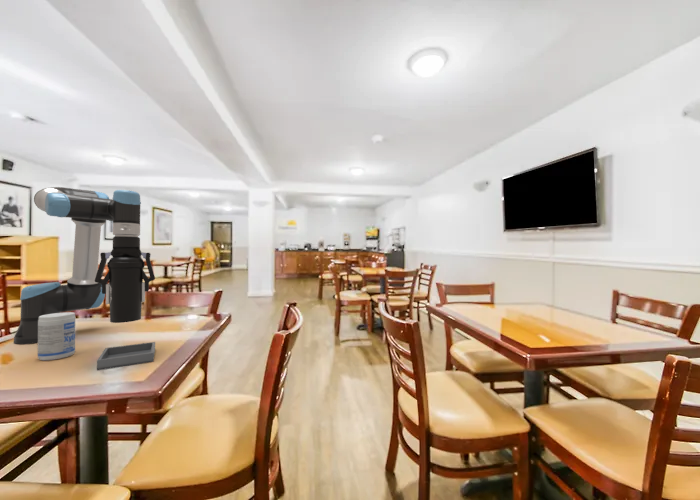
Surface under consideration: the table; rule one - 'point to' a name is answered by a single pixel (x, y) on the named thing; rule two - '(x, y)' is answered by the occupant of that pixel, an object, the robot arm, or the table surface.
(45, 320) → the supplement tub
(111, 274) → the water bottle
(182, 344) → the table surface
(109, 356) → the tray
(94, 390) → the table surface
